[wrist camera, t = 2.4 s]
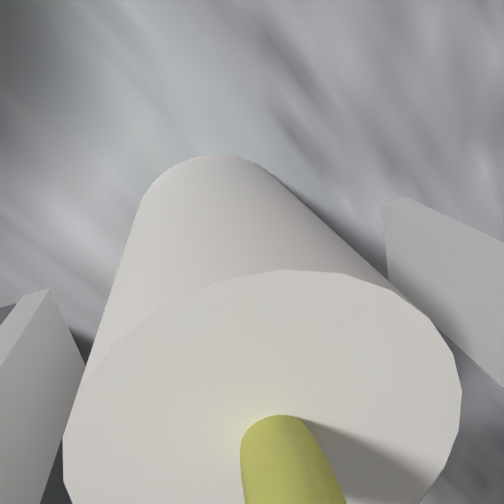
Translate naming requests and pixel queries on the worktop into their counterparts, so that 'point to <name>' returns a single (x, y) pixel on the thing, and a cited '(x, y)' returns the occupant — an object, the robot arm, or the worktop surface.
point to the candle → (255, 360)
